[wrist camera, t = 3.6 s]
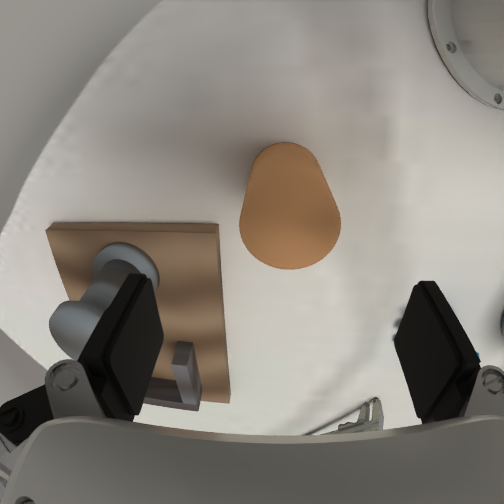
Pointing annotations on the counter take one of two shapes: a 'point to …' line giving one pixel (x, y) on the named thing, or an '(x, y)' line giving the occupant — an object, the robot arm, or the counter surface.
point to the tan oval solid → (288, 209)
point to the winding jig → (166, 293)
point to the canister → (503, 324)
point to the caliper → (364, 420)
